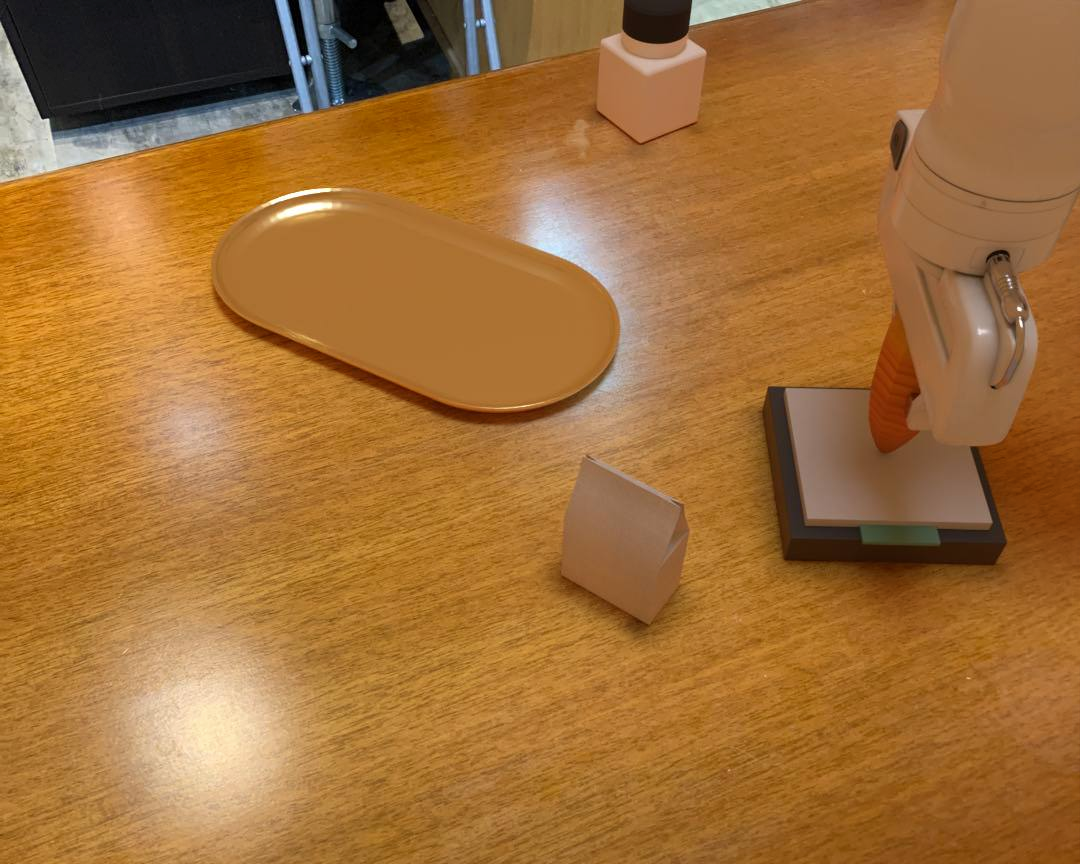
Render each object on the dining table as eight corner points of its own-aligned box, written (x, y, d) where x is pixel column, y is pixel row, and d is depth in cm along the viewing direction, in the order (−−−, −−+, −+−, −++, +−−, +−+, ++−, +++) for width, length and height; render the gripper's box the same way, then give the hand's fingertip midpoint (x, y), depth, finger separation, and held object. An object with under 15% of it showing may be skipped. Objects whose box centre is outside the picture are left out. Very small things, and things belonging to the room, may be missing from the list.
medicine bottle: (698, 122, 104) (716, -4, 94) (639, 145, 101) (651, 18, 92) (653, 89, 107) (665, -36, 98) (594, 110, 105) (601, -16, 95)
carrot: (841, 424, 75) (899, 246, 63) (913, 425, 75) (984, 248, 63) (851, 478, 72) (914, 302, 60) (926, 480, 72) (1003, 304, 60)
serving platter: (546, 459, 77) (546, 443, 76) (166, 297, 87) (161, 281, 86) (658, 308, 87) (660, 293, 86) (306, 179, 97) (304, 164, 96)
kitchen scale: (950, 413, 80) (964, 381, 78) (996, 569, 72) (1013, 540, 69) (762, 408, 81) (769, 377, 78) (785, 564, 72) (794, 535, 69)
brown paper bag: (649, 625, 69) (665, 527, 61) (561, 575, 71) (566, 474, 63) (678, 586, 71) (698, 486, 63) (592, 538, 73) (600, 436, 65)
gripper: (1097, 332, 52) (996, 514, 63) (995, 98, 64) (926, 285, 75) (965, 329, 52) (887, 512, 63) (889, 96, 64) (835, 283, 75)
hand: (908, 386), depth 69 cm, fingers closed on carrot, 5 cm apart
